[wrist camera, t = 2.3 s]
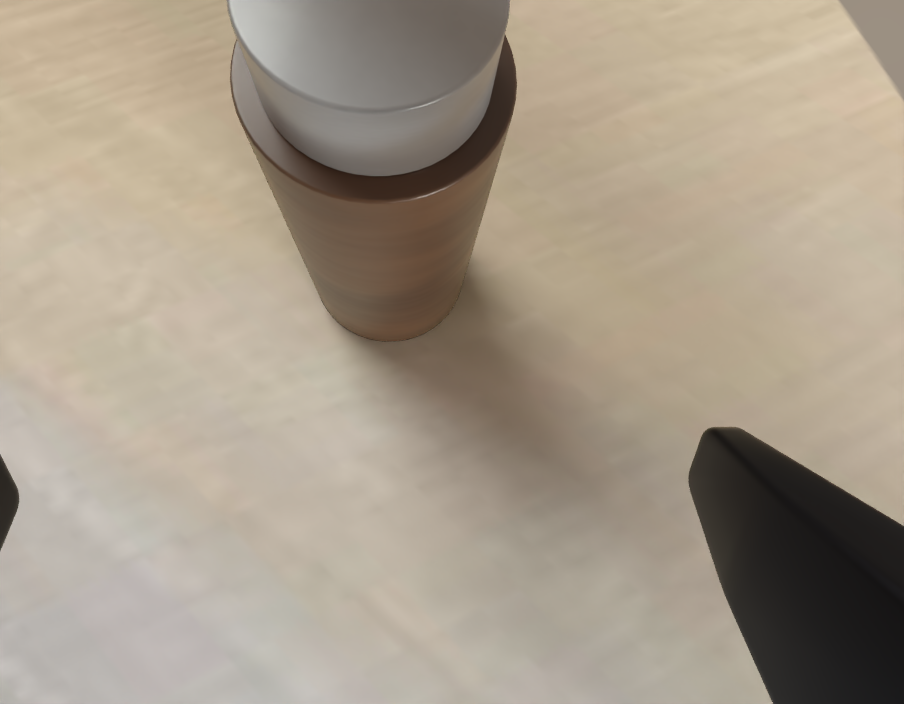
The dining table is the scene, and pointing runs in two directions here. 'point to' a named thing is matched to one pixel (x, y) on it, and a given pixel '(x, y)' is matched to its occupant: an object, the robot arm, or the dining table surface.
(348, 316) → the pepper mill
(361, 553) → the dining table surface
